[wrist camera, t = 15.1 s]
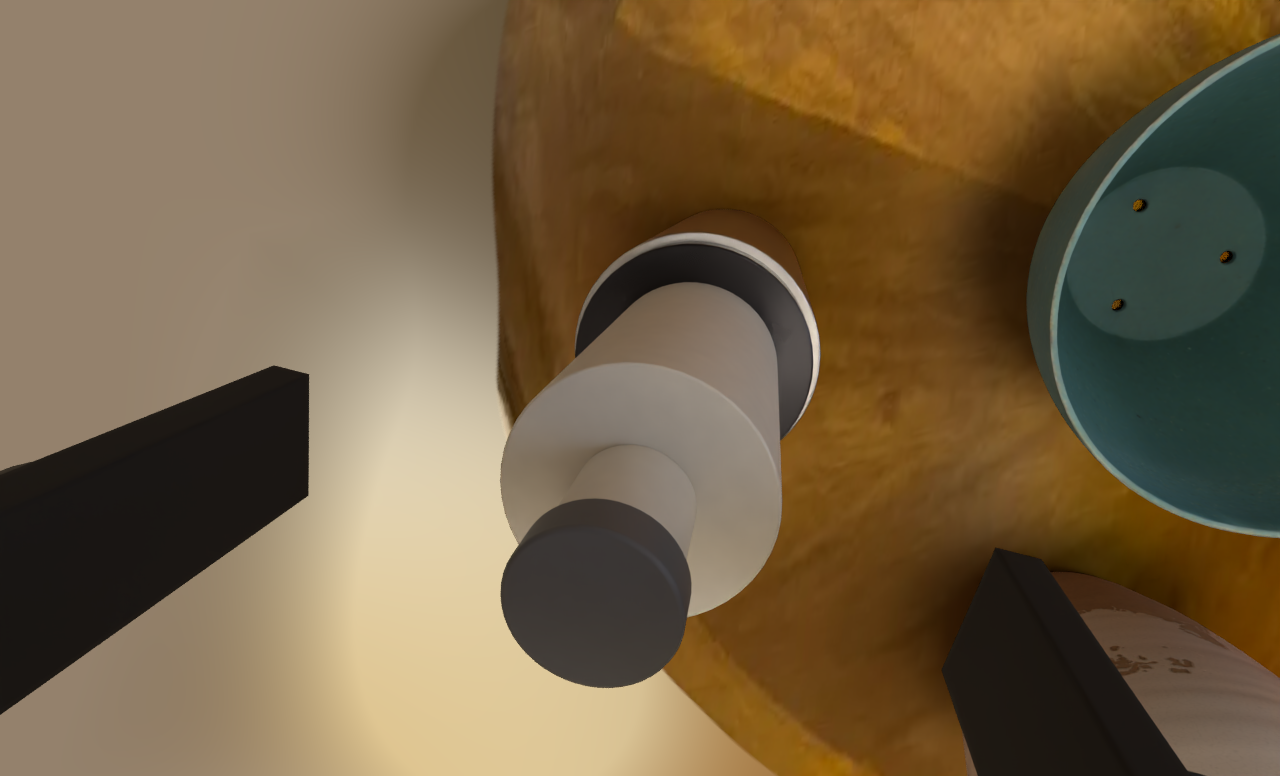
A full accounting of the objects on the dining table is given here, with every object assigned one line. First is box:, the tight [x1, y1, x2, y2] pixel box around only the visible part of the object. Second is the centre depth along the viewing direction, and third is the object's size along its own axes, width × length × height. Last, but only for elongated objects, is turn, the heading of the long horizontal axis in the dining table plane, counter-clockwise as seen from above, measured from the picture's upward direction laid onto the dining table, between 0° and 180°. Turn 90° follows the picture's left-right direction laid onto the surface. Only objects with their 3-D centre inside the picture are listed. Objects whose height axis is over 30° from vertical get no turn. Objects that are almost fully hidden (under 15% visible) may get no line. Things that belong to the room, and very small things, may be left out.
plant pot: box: [1027, 34, 1280, 538], centre depth 28 cm, size 18×18×12 cm
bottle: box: [500, 282, 782, 688], centre depth 17 cm, size 6×6×14 cm
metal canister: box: [575, 209, 821, 440], centre depth 30 cm, size 9×9×16 cm
